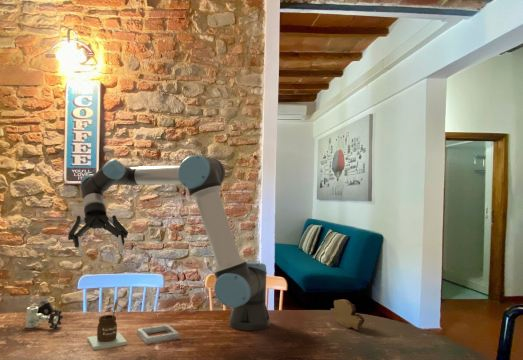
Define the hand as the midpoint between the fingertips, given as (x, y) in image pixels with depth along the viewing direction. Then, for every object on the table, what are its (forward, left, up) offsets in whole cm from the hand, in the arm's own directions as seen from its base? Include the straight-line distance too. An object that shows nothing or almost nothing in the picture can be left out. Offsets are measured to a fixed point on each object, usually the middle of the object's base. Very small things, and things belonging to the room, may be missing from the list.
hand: (101, 253), depth 148 cm
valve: (+17, -14, -27) cm, 35 cm away
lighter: (+16, -26, -27) cm, 41 cm away
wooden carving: (-81, +37, -27) cm, 93 cm away
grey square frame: (-16, +15, -27) cm, 35 cm away
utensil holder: (0, +13, -26) cm, 29 cm away
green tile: (0, +13, -27) cm, 30 cm away
